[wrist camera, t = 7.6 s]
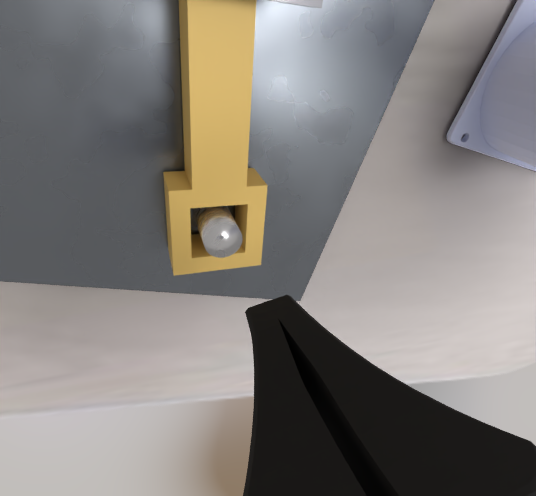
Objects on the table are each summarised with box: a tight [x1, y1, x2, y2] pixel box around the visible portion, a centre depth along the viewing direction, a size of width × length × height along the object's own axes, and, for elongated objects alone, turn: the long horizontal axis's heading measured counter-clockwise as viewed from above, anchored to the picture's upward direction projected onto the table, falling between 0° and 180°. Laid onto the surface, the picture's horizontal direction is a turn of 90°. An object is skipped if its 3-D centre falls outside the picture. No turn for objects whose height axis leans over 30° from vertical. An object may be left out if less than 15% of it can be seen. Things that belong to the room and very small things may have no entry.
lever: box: [163, 0, 268, 276], centre depth 14 cm, size 16×4×2 cm, turn 175°
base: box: [0, 0, 434, 301], centre depth 14 cm, size 20×23×4 cm
